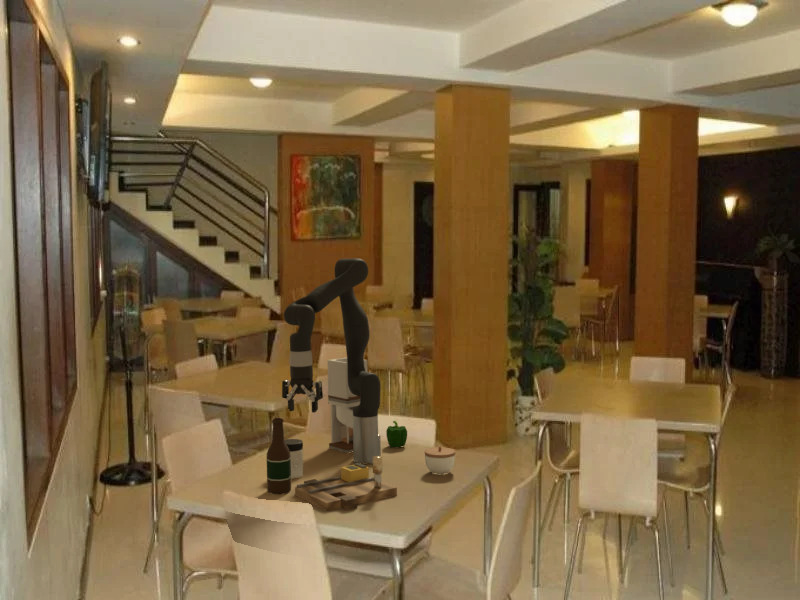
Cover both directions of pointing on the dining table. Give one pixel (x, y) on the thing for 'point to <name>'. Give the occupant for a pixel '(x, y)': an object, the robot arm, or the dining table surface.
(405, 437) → the bell pepper
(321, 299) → the robot arm
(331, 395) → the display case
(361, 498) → the subfloor panel
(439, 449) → the lidded jar
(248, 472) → the dining table surface
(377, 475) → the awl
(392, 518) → the dining table surface
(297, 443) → the jar
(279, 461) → the beer bottle
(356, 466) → the stud finder
